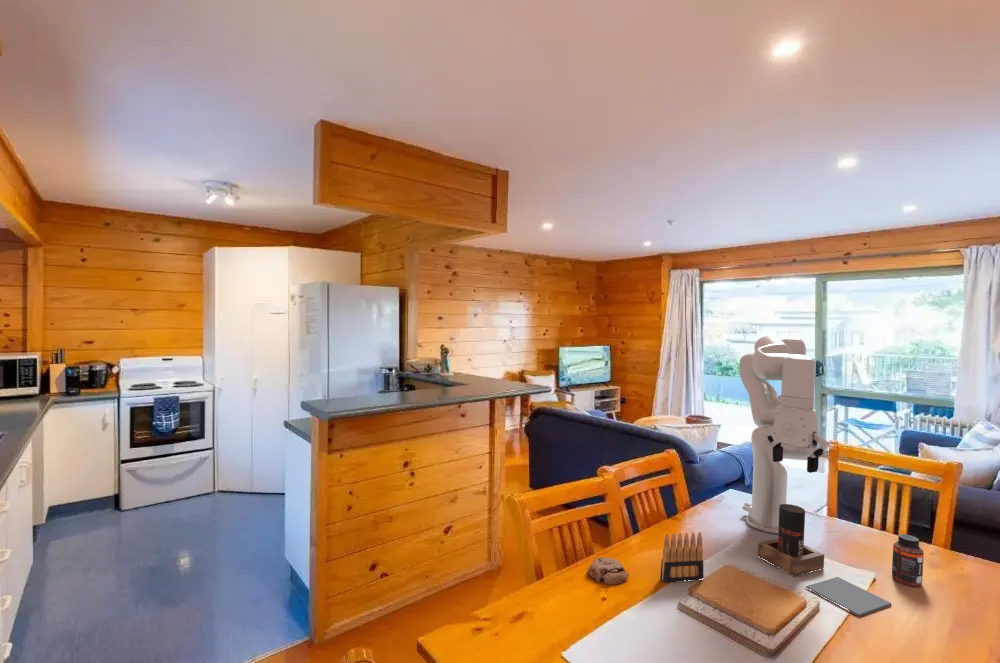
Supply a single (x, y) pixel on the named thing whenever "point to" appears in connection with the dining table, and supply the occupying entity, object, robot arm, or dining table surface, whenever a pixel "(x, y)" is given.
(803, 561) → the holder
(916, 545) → the supplement bottle
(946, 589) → the dining table surface
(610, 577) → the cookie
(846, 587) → the mat
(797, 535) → the deodorant
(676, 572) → the ammunition clip
